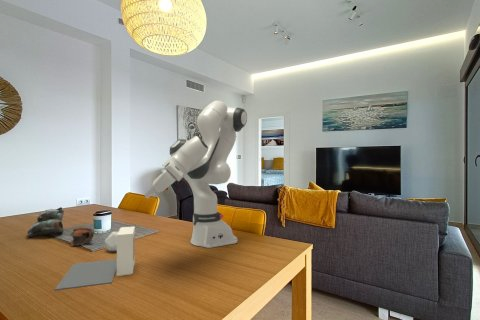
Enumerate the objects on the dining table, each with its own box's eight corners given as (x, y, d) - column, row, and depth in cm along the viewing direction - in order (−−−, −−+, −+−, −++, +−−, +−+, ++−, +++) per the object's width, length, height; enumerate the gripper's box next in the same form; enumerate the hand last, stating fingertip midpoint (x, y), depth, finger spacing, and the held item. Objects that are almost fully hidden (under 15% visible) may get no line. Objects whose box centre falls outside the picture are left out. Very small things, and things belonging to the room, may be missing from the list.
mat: (119, 259, 102) (119, 258, 102) (111, 282, 83) (111, 282, 83) (74, 264, 97) (74, 263, 97) (54, 290, 78) (54, 289, 78)
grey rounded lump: (18, 238, 127) (25, 207, 134) (45, 241, 139) (49, 213, 146) (45, 230, 124) (51, 199, 131) (70, 234, 136) (74, 206, 143)
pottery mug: (62, 247, 117) (67, 229, 121) (80, 250, 125) (83, 233, 129) (84, 242, 114) (87, 224, 118) (100, 246, 122) (103, 228, 126)
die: (112, 256, 107) (128, 236, 110) (96, 245, 108) (112, 225, 111) (120, 256, 115) (135, 237, 117) (105, 246, 116) (120, 227, 119)
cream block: (135, 262, 99) (135, 226, 99) (133, 274, 90) (133, 233, 90) (120, 264, 98) (120, 227, 98) (116, 276, 88) (116, 235, 88)
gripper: (166, 164, 108) (140, 188, 105) (169, 164, 88) (137, 193, 85) (177, 174, 109) (152, 198, 106) (182, 177, 90) (151, 207, 86)
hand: (145, 196), depth 95 cm, fingers closed
